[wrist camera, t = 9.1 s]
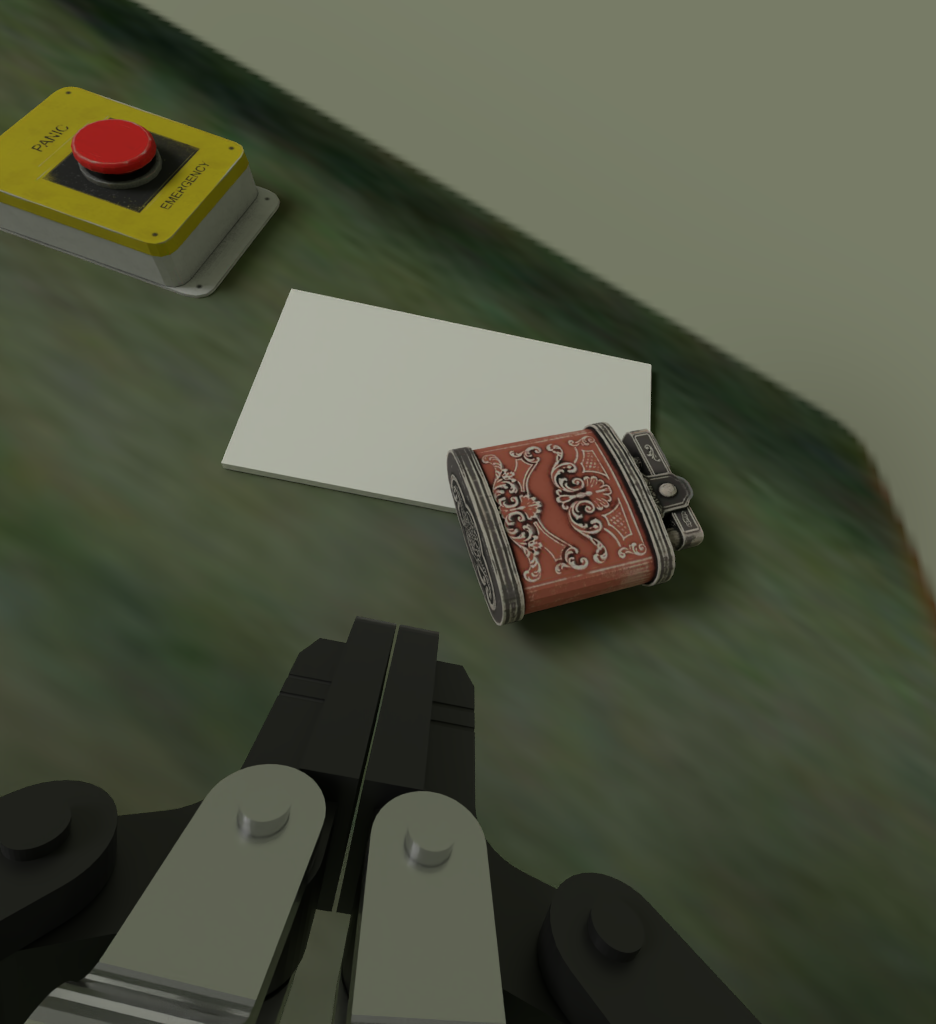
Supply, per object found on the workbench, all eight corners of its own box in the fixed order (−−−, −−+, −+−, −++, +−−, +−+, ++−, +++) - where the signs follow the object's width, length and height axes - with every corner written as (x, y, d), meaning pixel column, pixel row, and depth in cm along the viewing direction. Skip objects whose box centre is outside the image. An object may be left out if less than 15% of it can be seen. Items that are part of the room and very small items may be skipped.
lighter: (495, 636, 23) (702, 581, 26) (509, 609, 20) (742, 549, 23) (444, 476, 27) (629, 440, 29) (449, 433, 24) (655, 397, 26)
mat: (644, 549, 27) (648, 546, 26) (224, 468, 26) (221, 463, 25) (647, 370, 32) (651, 364, 31) (292, 295, 31) (291, 288, 30)
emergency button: (180, 240, 26) (-113, 136, 27) (208, 310, 30) (-48, 219, 31) (274, 131, 30) (18, 43, 31) (287, 205, 34) (61, 126, 35)
